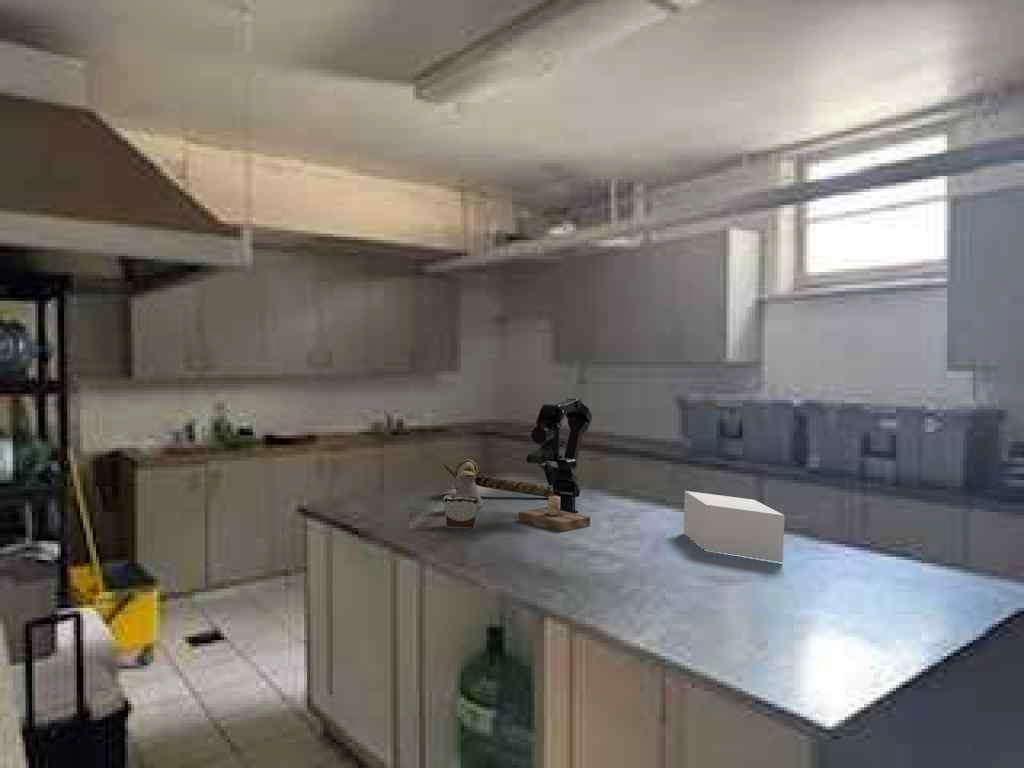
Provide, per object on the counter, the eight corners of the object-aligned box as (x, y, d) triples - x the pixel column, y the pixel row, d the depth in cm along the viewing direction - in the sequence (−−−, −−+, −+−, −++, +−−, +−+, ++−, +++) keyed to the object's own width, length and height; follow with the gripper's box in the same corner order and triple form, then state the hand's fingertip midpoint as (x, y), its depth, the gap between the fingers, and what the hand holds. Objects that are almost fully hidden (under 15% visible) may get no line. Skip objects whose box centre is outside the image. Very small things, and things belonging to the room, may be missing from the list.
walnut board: (546, 515, 267) (547, 507, 266) (589, 526, 252) (590, 517, 252) (518, 520, 257) (518, 512, 257) (561, 532, 242) (561, 522, 242)
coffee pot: (489, 512, 269) (490, 471, 268) (462, 516, 262) (463, 473, 261) (456, 502, 286) (456, 463, 285) (430, 505, 279) (430, 465, 278)
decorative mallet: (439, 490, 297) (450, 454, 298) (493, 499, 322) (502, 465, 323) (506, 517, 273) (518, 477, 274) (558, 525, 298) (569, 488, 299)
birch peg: (553, 521, 257) (554, 495, 257) (562, 523, 254) (563, 497, 254) (545, 523, 255) (545, 496, 254) (553, 525, 252) (554, 498, 251)
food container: (481, 524, 250) (482, 494, 250) (479, 529, 244) (479, 498, 244) (445, 523, 251) (445, 493, 251) (441, 527, 245) (442, 496, 245)
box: (705, 531, 250) (707, 488, 249) (806, 561, 215) (808, 512, 215) (659, 537, 240) (661, 493, 239) (757, 569, 205) (759, 518, 205)
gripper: (515, 439, 260) (515, 484, 261) (556, 445, 247) (555, 492, 248) (537, 437, 268) (537, 480, 269) (578, 442, 255) (577, 488, 256)
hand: (550, 485), depth 260 cm, fingers closed
